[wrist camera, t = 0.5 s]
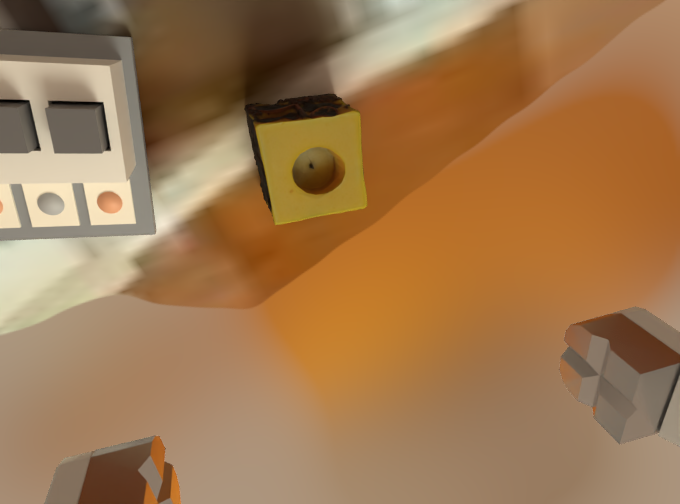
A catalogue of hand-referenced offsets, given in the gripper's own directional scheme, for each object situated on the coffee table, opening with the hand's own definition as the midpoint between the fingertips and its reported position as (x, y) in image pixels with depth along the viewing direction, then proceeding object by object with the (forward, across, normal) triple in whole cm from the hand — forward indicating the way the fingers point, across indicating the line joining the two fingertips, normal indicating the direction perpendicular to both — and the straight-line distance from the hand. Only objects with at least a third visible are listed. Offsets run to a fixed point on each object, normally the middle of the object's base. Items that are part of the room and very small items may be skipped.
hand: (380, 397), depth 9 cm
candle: (+45, -5, +7) cm, 45 cm away
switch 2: (+41, +14, 0) cm, 44 cm away
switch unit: (+44, +20, +2) cm, 49 cm away
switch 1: (+42, +20, -1) cm, 46 cm away
